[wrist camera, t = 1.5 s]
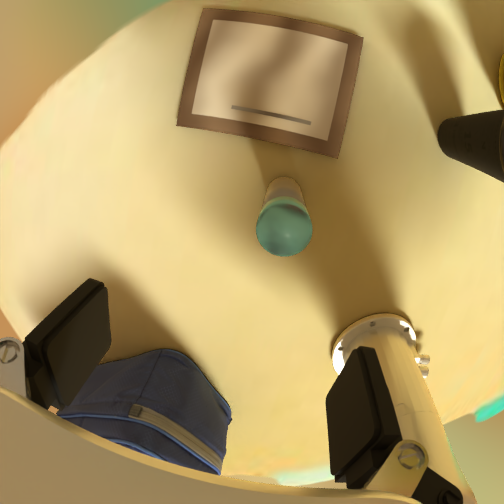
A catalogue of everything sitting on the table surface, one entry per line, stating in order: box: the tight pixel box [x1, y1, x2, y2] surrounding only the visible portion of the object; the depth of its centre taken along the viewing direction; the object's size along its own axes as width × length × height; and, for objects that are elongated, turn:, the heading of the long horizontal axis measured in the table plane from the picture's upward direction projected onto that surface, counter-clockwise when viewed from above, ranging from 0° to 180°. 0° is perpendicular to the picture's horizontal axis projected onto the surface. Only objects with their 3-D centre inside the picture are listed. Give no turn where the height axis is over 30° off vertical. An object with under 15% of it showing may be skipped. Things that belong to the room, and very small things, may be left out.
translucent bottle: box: [256, 177, 312, 256], centre depth 25 cm, size 4×4×13 cm
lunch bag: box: [56, 349, 232, 476], centre depth 38 cm, size 31×21×20 cm
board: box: [176, 9, 363, 159], centre depth 26 cm, size 17×14×2 cm
